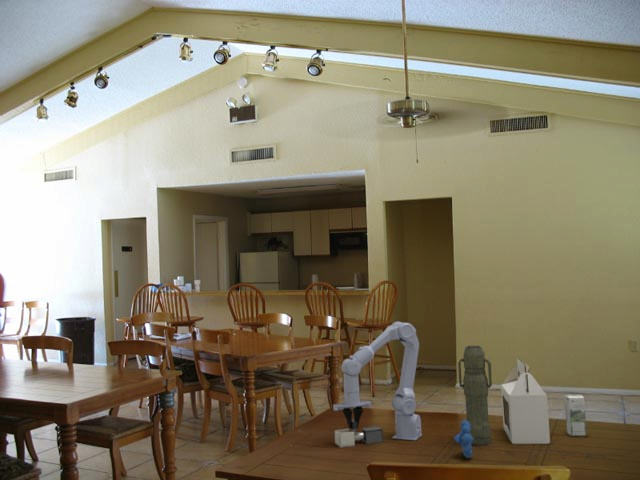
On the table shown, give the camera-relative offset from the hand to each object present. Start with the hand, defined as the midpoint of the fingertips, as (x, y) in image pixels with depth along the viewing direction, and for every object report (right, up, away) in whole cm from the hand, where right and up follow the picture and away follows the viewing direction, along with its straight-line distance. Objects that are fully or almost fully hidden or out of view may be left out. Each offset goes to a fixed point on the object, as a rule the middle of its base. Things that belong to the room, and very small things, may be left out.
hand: (353, 427), depth 238 cm
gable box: (+65, -3, 0) cm, 65 cm away
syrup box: (+84, -2, -2) cm, 84 cm away
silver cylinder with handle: (+3, -5, +1) cm, 6 cm away
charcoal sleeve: (+7, -6, +2) cm, 9 cm away
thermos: (+46, -4, -6) cm, 47 cm away
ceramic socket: (-3, -6, -1) cm, 7 cm away
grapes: (+37, -3, -23) cm, 43 cm away
